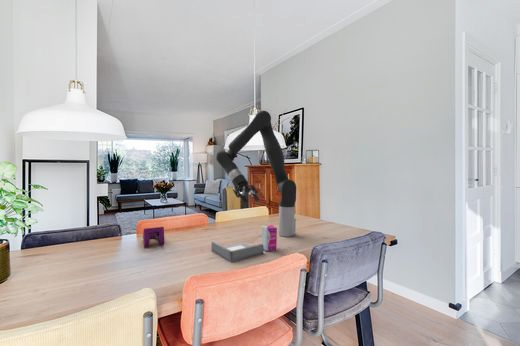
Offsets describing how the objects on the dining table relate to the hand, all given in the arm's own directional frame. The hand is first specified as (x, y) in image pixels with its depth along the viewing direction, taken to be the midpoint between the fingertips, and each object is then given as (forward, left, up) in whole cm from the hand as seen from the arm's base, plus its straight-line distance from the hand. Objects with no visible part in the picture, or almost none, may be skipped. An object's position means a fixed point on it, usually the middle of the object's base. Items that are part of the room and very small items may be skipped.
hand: (252, 201), depth 138 cm
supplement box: (-2, +11, -23) cm, 26 cm away
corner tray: (+13, +5, -23) cm, 27 cm away
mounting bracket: (+41, -35, -23) cm, 58 cm away
